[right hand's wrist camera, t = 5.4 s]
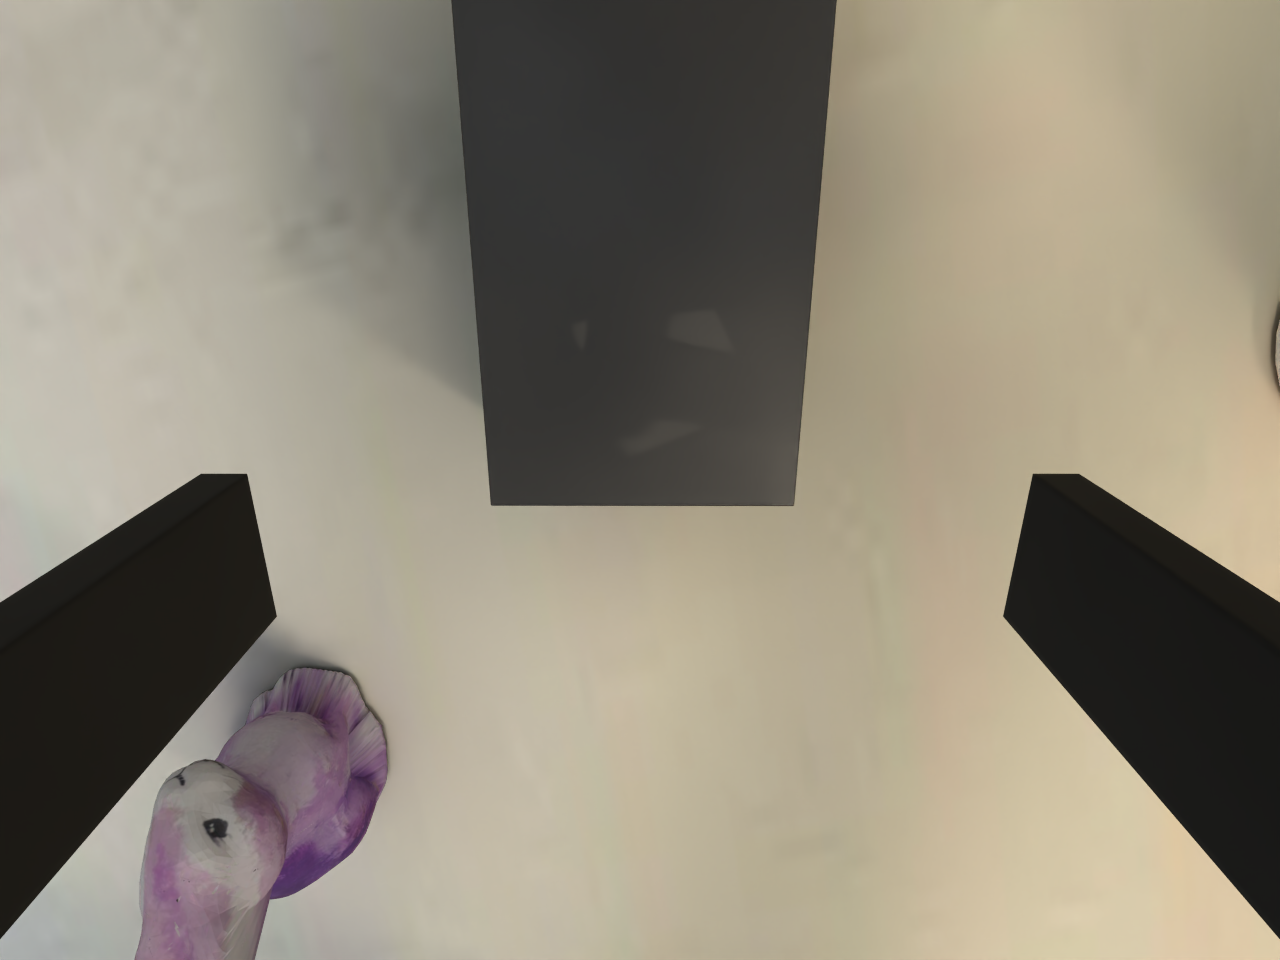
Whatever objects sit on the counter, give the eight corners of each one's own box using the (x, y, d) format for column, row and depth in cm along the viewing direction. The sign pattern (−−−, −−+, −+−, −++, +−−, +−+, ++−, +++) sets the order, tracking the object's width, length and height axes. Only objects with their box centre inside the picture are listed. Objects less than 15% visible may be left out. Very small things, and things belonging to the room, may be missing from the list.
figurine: (304, 623, 37) (100, 884, 23) (440, 753, 40) (333, 1054, 26) (178, 714, 39) (-79, 1004, 25) (317, 830, 42) (157, 1148, 28)
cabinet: (498, 27, 28) (448, -32, 20) (787, 27, 28) (840, -32, 20) (522, 438, 34) (490, 506, 26) (761, 439, 34) (794, 506, 26)
